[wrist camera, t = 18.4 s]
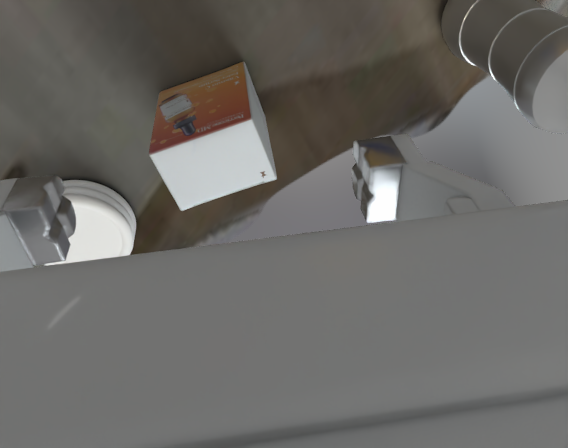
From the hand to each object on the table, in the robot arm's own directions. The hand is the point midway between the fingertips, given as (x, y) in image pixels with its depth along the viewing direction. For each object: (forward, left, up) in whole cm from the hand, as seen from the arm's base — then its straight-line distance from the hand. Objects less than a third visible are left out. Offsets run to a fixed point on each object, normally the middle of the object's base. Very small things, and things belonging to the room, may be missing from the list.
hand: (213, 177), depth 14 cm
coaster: (+7, -26, -29) cm, 40 cm away
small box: (+8, -8, -29) cm, 32 cm away
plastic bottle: (+18, +13, -29) cm, 37 cm away
